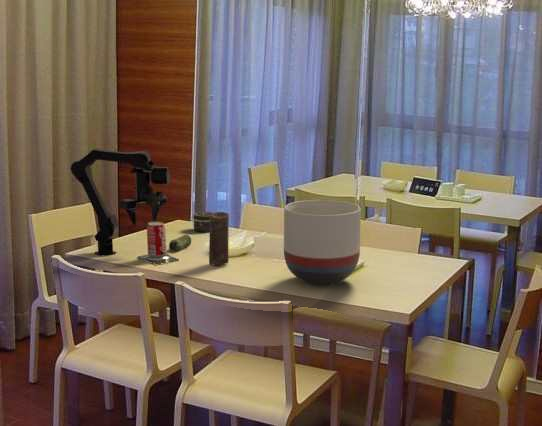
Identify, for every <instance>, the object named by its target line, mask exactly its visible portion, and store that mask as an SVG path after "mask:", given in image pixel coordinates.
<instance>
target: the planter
mask: <svg viewBox="0 0 542 426" xmlns="http://www.w3.org/2000/svg"><path fill="white" fill-rule="evenodd" d="M361 209H362V208H361V207H360V206H359V205H358V204H356V203H352V202H348V201H341V200H330V199H329V200H328V199H308V200H300V201H299V200H298V201H294V202H290V203H287V204H286V205H284V208H283V256H284V260H285V264H286V267H287V268H288V270H289V271H290V272H291V274H292V275H293V276H295V277H296V278H297V279H299V280H300V281H301V282H304V283H307V284H310V285H317V286H327V285H334V284H338V283H339V282H340V283H341V282H342V281H345V280H346V279H347V278H348V277H349V276H351V275H352V274H353V272H355V270H356V268H357V266H358V264H359V259H360V255H361V254H360V253H361V225H362V224H361V223H362V221H361V220H362V219H361V218H362V217H361V216H362V210H361Z"/></svg>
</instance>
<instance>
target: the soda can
mask: <svg viewBox="0 0 542 426" xmlns="http://www.w3.org/2000/svg"><path fill="white" fill-rule="evenodd" d="M166 233H167V232H166V226H165V223H164V222H162V221H149V222H148V223H147V227H146V241H147V242H146V243H147V244H146V245H147V254H148V255H149V256H150V257H154V258H159V257H163V256H165V254H167V238H166V237H167V236H166Z"/></svg>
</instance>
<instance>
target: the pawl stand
mask: <svg viewBox="0 0 542 426" xmlns="http://www.w3.org/2000/svg"><path fill="white" fill-rule="evenodd" d="M136 257H138V258H137V259H139V258H140V259H139V260H142V259H143V260H142V261H144V260H146V261H145V262H147V261H149V262H148V263H150V262H152V263H155V264H161V263H166V262H170V263H174V261H175V262H179V261H180V259H179V258H176V257H174V256H171V255H170V254H169V253H166V254H165V256H163V257H159V258H154V257H150V256H149V255H148V253H147V254H143V255H142V254H141V255H137V256H136ZM152 263H151V264H152ZM155 264H154V265H155ZM166 264H167V263H166ZM161 265H162V264H161Z"/></svg>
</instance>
